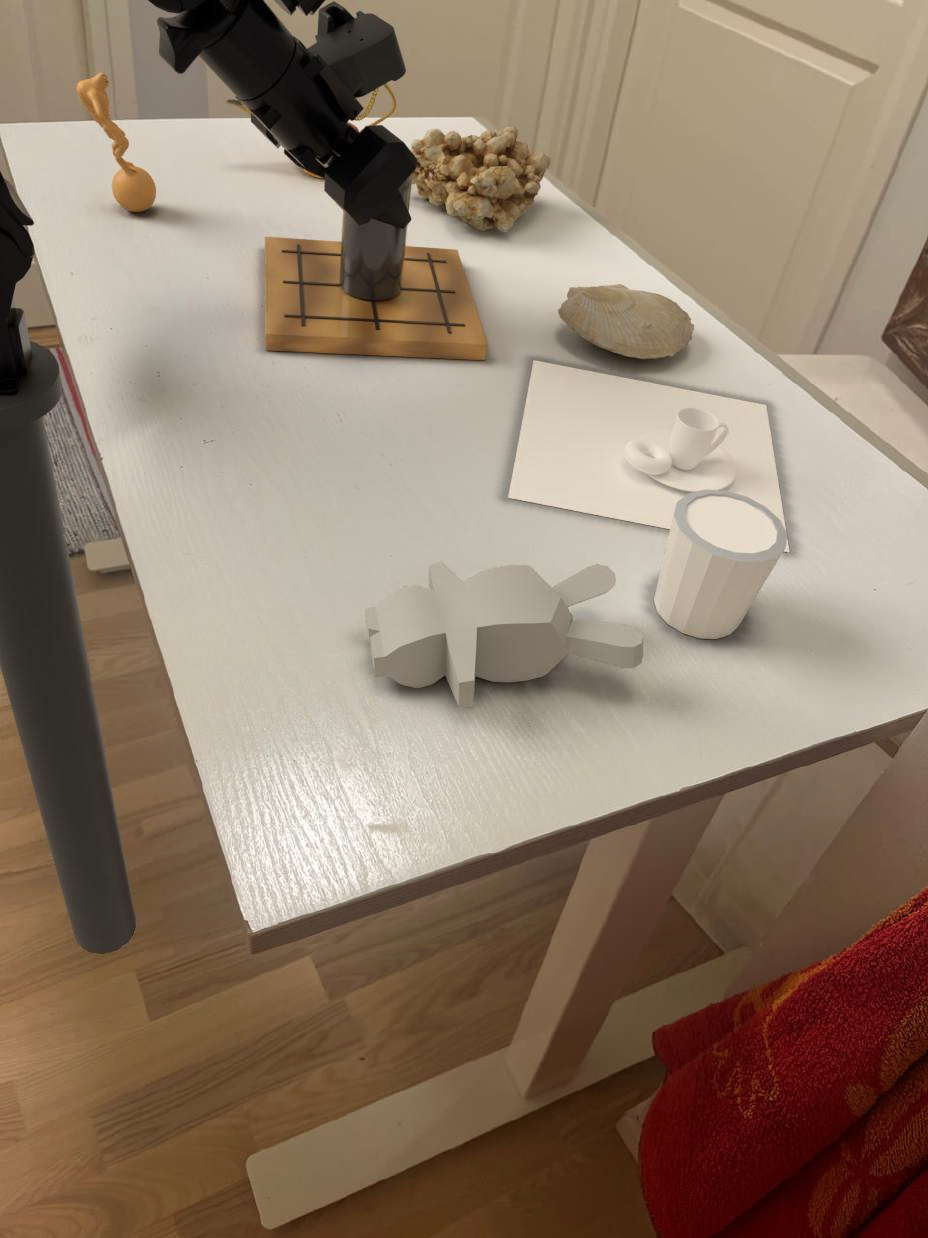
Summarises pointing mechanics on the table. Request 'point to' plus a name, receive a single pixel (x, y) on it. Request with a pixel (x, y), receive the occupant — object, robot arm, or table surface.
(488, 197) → the mineral formation
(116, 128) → the figurine
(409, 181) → the dark domed cylinder
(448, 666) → the bunny figurine
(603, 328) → the seashell
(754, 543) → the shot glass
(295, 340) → the board
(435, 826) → the table surface
